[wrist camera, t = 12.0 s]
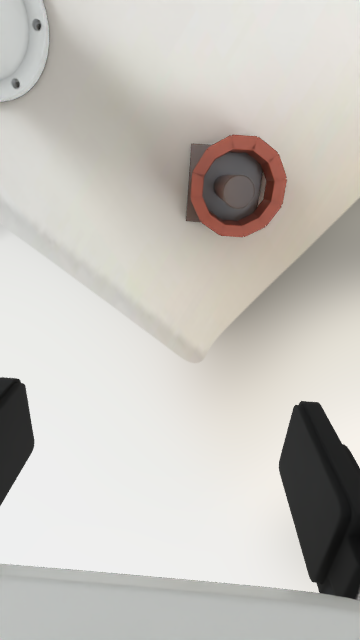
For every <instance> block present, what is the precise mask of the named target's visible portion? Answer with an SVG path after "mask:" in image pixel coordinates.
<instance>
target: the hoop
mask: <svg viewBox="0 0 360 640" xmlns="http://www.w3.org/2000/svg"><path fill="white" fill-rule="evenodd" d="M228 152H238V153H247V154H249V155H250V156H251V157H252V158H254V159H255V160H256V161H257V162H259V163H260V164H261V167H262V169H263V172H264V175H265V178H266V187H265V193H264V199H263V200H262V202H261V203H260V204H259V206H258V207H257V208H256V210H255V211H254V213H253V214H251V215H249V216H247V217H244V218H242V219H240V220H238V221H233V220H221V219H220V218H219V217H217V216H216V215H214V214H213V213H212V212H210V211H209V210H208V208H207V206H206V203H205V201H204V199H203V197H202V195H203V183H204V176H205V174H206V173H207V171H208V169H209V168H210V166H211V165H212V163H213V162H214V160H215V159H217V158H219V157H221V156H223V155H224V154H226V153H228ZM277 153H278V152H277V151H276V150H274V149H273V148H272V147H271V146H269V145H268V144H267V143H266V142H264V141H263V140H262V139H261V138H259V137H258V138H257V136H244V135H232V136H231V135H230V136H228V137H226V138H224V139H223V140H221V141H219V142H217V143H215V144H214V145H212V146H210V147H208V149H206V151H205V152H204V154H203V156H202V157H201V159H200V160H199V162H198V164H197V165H196V167H195V169H194V170H193V172H194V173H192V183H191V197H190V198H191V202H192V204H193V206H194V208H195V210H196V213H197V215H198V217H199V219H200V221H201V222H202V223H203V224H204V225H206V226H207V227H209V228H210V229H211V230H213V231H214V232H216V233H217V234H218V235H221V236H233V237H243V236H244V237H245V236H247V235H250V234H252V233H254V232H256V231H258V230H260V229H262V228H264V227H265V225H266V226H267V225H268V224H269V222H270V221H271V220H272V218H273V217H274V216H275V214H276V213H277V212H278V210H279V209H280V208H281V205H282V204H283V198H284V193H285V187H286V182H287V179H286V178H287V177H286V174H285V171H284V168H283V165H282V162H281V159H280V156H279V154H277Z"/></svg>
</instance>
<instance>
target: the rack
mask: <svg viewBox="0 0 360 640" xmlns="http://www.w3.org/2000/svg"><path fill="white" fill-rule="evenodd" d="M210 146H212V145H205V144H191V158H190V172H189V187H188V201H187V216H186V221H193V222H201V221H200V219H199V217H198V215H197V213H196V210H195V208H194V206H193V204H192V202H191V198H190V197H191V183H192V173H194V172H193V170H194V169H195V167H196V165H197V164H198V162H199V160H200V159H201V157H202V156H203V154H204V152H205V151H206V149H208V147H210ZM262 173H263V169H262V167H261V164H260V163H259V162H257V161H256V160H255V159H254V158H252V157H251V156H250V155H249V154H247V153H238V152H228V153H226V154H224V155H223V156H221V157H219V158H217V159H215V160H214V162H213V163H212V165H211V166H210V168H209V169H208V171H207V173H206V174H205V176H204V183H203V195H202V197H203V199H204V201H205V203H206V206H207V208H208V210H209V211H210V212H212V213H213V214H214V215H216V216H217V217H219V218H220V219H221V220H233V221H238V220H240V219H242V218H244V217H247V216H249V215H251V214H253V213H254V211H255V210H256V208H257V205H258V199H259V192H260V186H261V180H262Z"/></svg>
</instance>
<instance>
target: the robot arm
mask: <svg viewBox="0 0 360 640" xmlns="http://www.w3.org/2000/svg"><path fill="white" fill-rule="evenodd" d="M39 26H41V29H40V30H39ZM48 48H49V25H48V20H47V14H46V9H45V6H44V3H43V0H0V102H3V101H8V100H13V99H16V98H18V97H20V96H22V95H24V94H25V93H26V92H27V91H29V90H30V89H31V88H32V87H33V86H34V84H35V83H36V82H37V81H38V79H39V77H40V75H41V73H42V71H43V69H44V67H45V63H46V60H47V56H48ZM19 83H20V87H19V88H18V84H19ZM33 448H34V436H33V430H32V424H31V419H30V412H29V406H28V400H27V394H26V388H25V385H24V384H23V383H21V382H20V380H19V379H15V378H0V505H1V504H2V502H3V500H4V499H5V497H6V495H7V493H8V492H9V490H10V488H11V487H12V485H13V483H14V482H15V480H16V478H17V476H18V475H19V473H20V471H21V470H22V468H23V466H24V465H25V463H26V461H27V460H28V458H29V456H30V454H31V453H32V451H33ZM279 471H280V475H281V479H282V482H283V486H284V489H285V493H286V496H287V500H288V503H289V507H290V511H291V514H292V517H293V521H294V524H295V528H296V532H297V535H298V538H299V542H300V546H301V549H302V553H303V556H304V559H305V563H306V567H307V570H308V574H309V577H310V579H311V581H312V582H317V586H318V589H319V592H320V593H313V592H305V591H296V590H287V589H277V588H270V587H260V586H250V585H238V584H227V583H217V582H205V581H195V580H184V579H174V578H162V577H151V576H140V575H127V574H117V573H105V572H93V571H82V570H70V569H57V568H45V567H33V566H20V565H7V564H0V640H360V468H359V466H358V464H357V463H356V461H355V459H354V457H353V455H352V454H351V452H350V450H349V449H348V448H347V446H345V445H343V444H342V443H341V441H340V440H339V438H338V436H337V434H336V432H335V430H334V429H333V427H332V425H331V423H330V421H329V419H328V418H327V416H326V414H325V412H324V410H323V408H322V407H321V405H320V404H319V403H318V402H306V401H301V402H300V403H299V405H295V406H294V408H293V412H292V415H291V420H290V423H289V427H288V431H287V434H286V438H285V442H284V446H283V449H282V453H281V457H280V461H279Z"/></svg>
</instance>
